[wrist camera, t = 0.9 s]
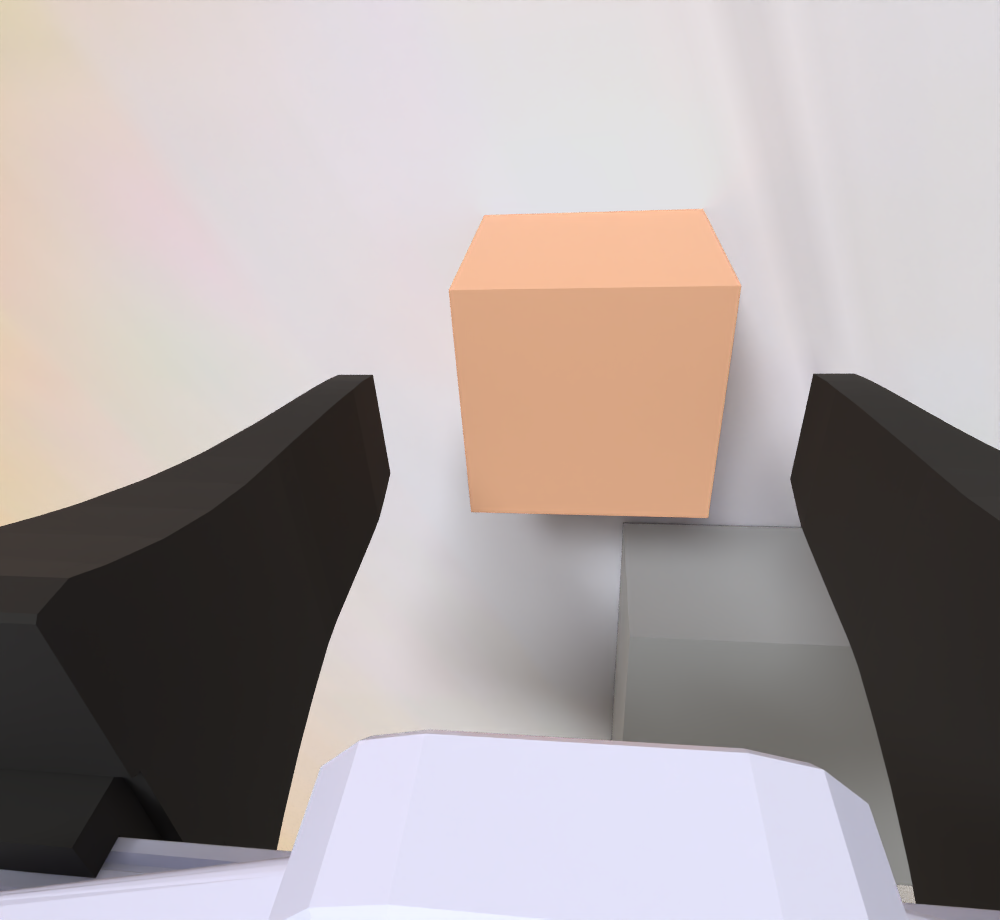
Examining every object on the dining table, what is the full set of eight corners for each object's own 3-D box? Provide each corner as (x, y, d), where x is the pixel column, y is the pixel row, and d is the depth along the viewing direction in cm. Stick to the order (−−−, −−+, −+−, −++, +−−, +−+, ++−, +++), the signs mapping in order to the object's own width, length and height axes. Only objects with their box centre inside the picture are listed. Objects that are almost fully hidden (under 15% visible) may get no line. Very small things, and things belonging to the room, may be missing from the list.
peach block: (702, 207, 14) (741, 286, 10) (682, 400, 17) (708, 518, 13) (485, 214, 15) (449, 289, 11) (497, 399, 17) (471, 512, 14)
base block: (1022, 533, 18) (1120, 659, 14) (912, 762, 23) (965, 890, 20) (623, 523, 19) (629, 636, 16) (611, 742, 24) (614, 860, 21)
